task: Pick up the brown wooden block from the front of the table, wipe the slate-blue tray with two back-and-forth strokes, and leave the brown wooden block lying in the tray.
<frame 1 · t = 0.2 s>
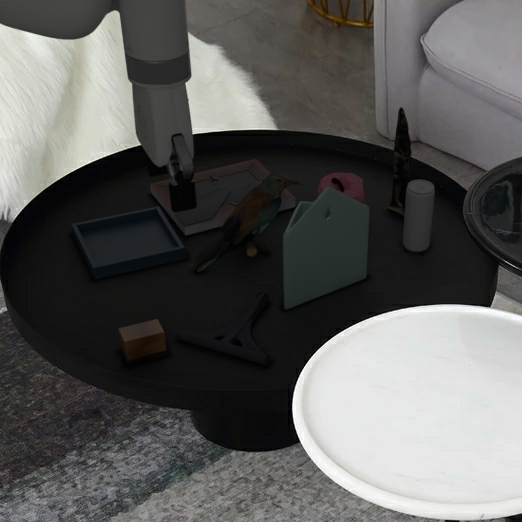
hand: (172, 191, 129), 30 cm above the table, tool pointing down, fingers open, 9 cm apart
beverage can: (415, 247, 176), on the table
picture frame: (223, 202, 184), on the table
bracket: (244, 328, 156), on the table
tray: (128, 247, 172), on the table
brown wooden block: (144, 353, 150), on the table
apple: (340, 224, 181), on the table
planter: (313, 283, 166), on the table
bird figurine: (248, 255, 172), on the table
statue: (404, 216, 184), on the table
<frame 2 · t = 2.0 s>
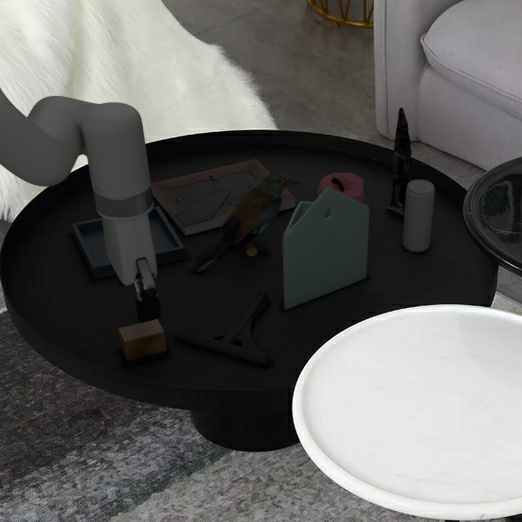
hand: (140, 301, 144), 10 cm above the table, tool pointing down, fingers open, 9 cm apart
nothing on the table moved.
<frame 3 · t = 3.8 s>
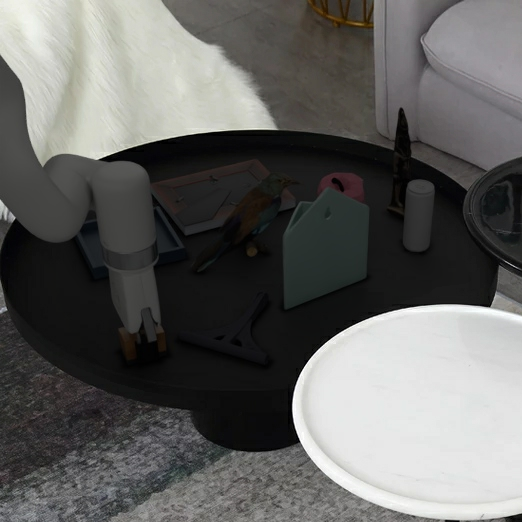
hand: (144, 351, 150), 0 cm above the table, tool pointing down, fingers closed on brown wooden block, 3 cm apart
brown wooden block: (144, 353, 150), on the table, touching gripper
everything else where it was.
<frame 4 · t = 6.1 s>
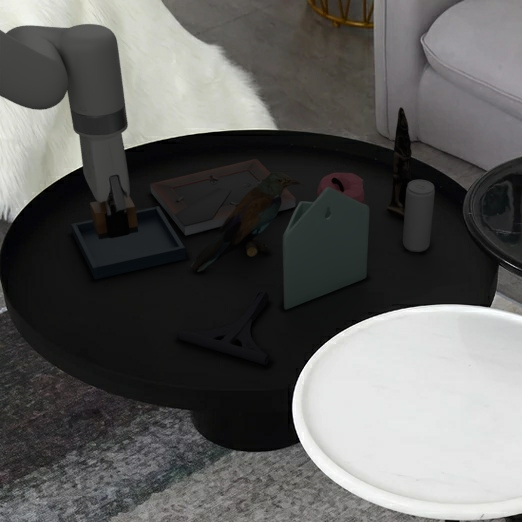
hand: (115, 227, 152), 13 cm above the table, tool pointing down, fingers closed on brown wooden block, 3 cm apart
brown wooden block: (116, 230, 152), point 13 cm above the table, touching gripper
everything else where it was.
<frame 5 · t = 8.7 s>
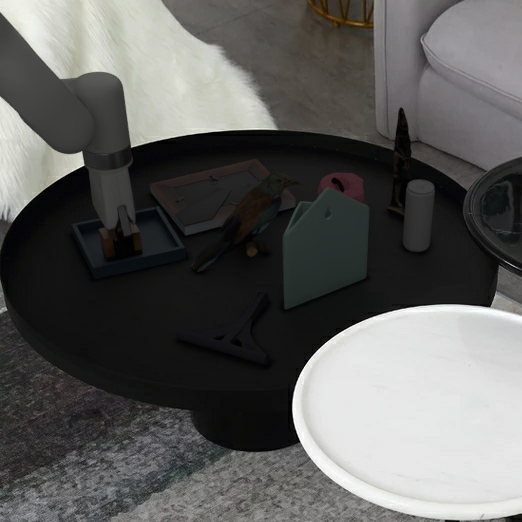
hand: (121, 250, 168), 2 cm above the table, tool pointing down, fingers closed on brown wooden block, 3 cm apart
brown wooden block: (122, 252, 168), point 1 cm above the table, touching gripper
everything else where it was.
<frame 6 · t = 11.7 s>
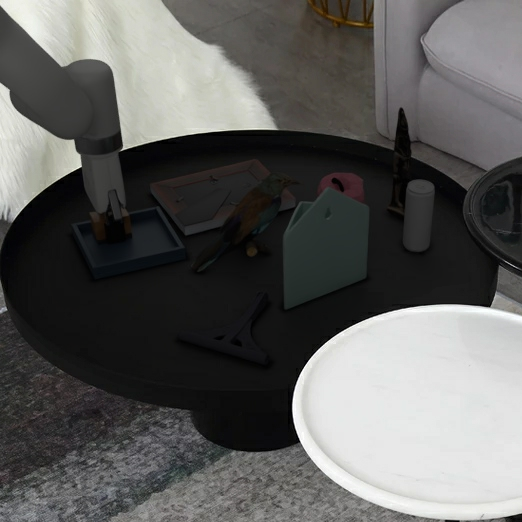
hand: (113, 234, 172), 1 cm above the table, tool pointing down, fingers closed on brown wooden block, 3 cm apart
brown wooden block: (112, 236, 172), point 1 cm above the table, touching gripper
everything else where it was.
when the fingers open (1 cm above the table, at t = 13.8 s): brown wooden block stays where it is, resting on tray.
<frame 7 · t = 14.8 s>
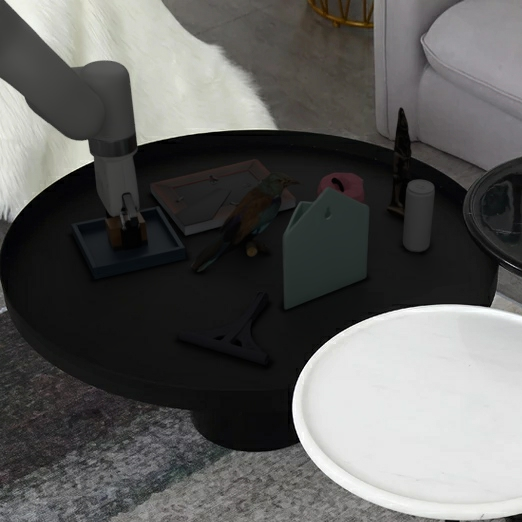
hand: (124, 233, 169), 3 cm above the table, tool pointing down, fingers open, 9 cm apart
brown wooden block: (128, 243, 171), point 1 cm above the table, touching tray
everything else where it was.
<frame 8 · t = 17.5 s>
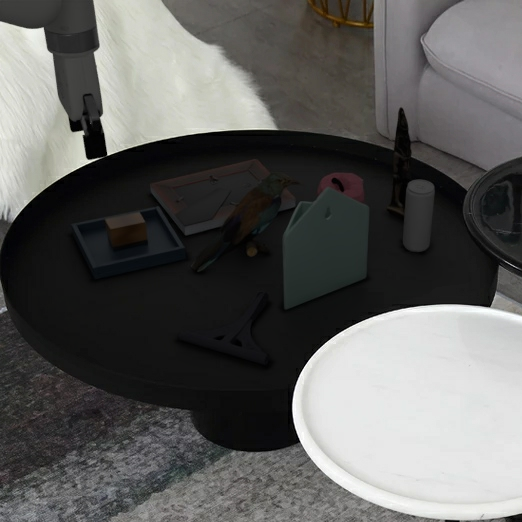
hand: (88, 143, 157), 20 cm above the table, tool pointing down, fingers open, 9 cm apart
nothing on the table moved.
at the end: brown wooden block inside the target area in the tray (0.0 cm from its centre), point 0.8 cm above the tray's base; the gripper is holding nothing; brown wooden block tilted 0° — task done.
